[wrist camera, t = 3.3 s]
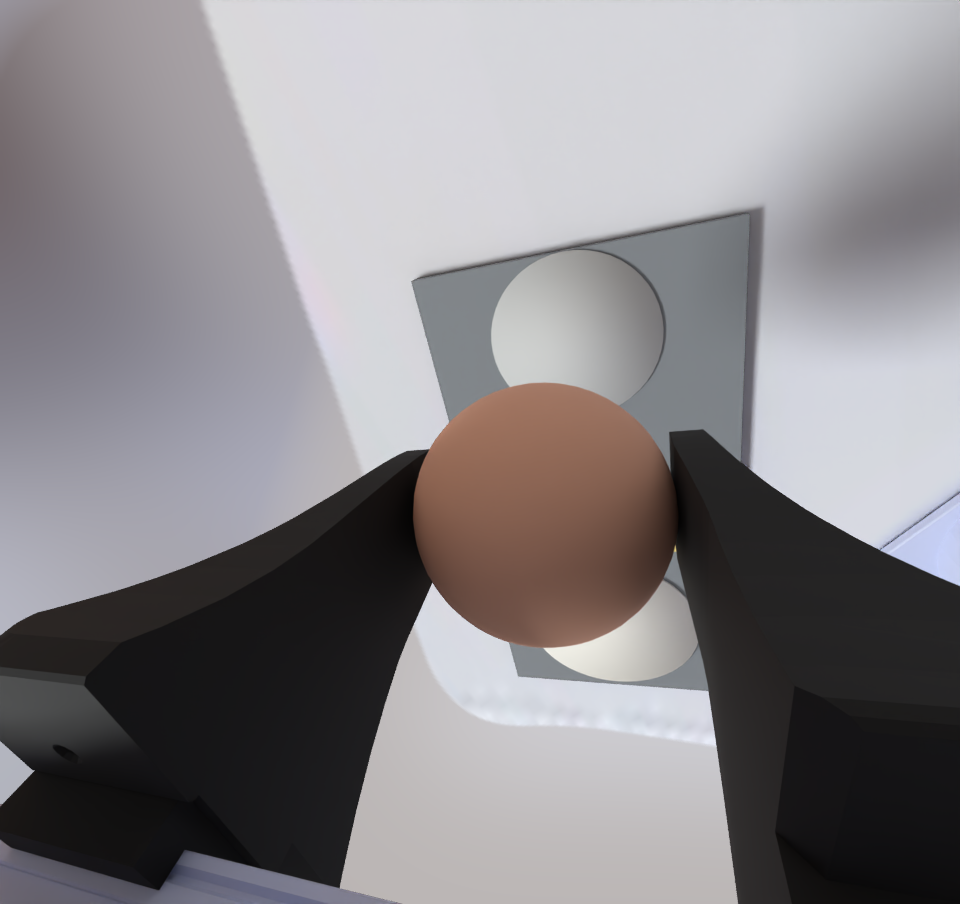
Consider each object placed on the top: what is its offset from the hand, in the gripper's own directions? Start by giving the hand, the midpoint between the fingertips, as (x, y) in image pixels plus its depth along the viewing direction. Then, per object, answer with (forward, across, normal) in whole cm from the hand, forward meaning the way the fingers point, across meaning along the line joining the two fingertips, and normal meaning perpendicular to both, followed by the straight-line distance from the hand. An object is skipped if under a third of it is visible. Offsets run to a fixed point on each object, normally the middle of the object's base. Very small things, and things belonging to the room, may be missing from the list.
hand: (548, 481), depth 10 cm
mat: (+9, 0, +8) cm, 12 cm away
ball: (-1, 0, 0) cm, 1 cm away
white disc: (+8, 0, +14) cm, 16 cm away
